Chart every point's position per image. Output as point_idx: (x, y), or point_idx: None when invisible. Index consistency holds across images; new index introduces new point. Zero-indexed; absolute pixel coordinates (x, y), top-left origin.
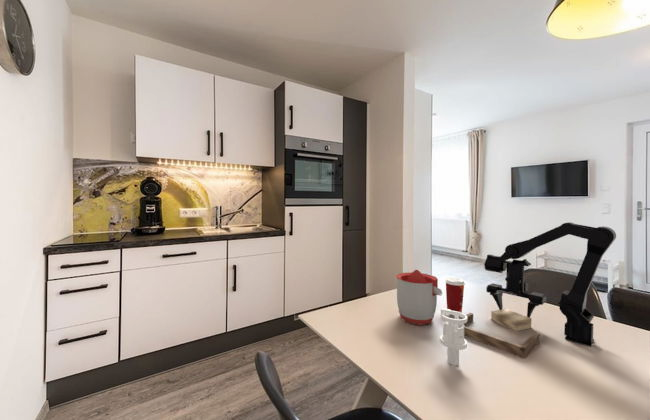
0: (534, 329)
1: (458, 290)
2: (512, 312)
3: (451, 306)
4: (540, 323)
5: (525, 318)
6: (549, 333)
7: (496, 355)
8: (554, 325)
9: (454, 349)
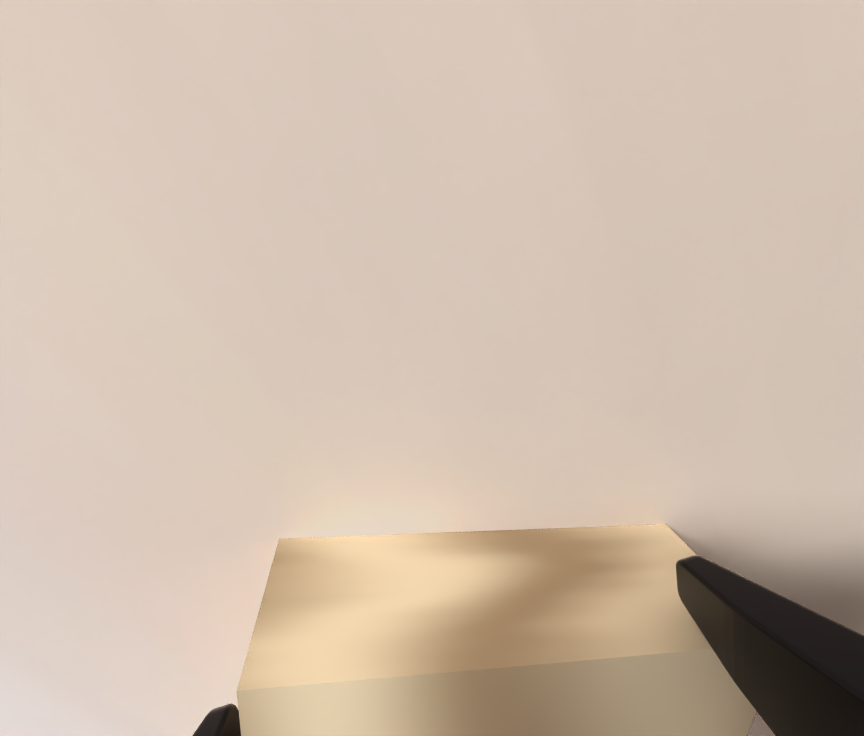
0: (708, 536)
1: None
2: (460, 723)
3: None
4: (684, 242)
5: (722, 727)
6: (850, 478)
7: None
8: (850, 91)
9: None
